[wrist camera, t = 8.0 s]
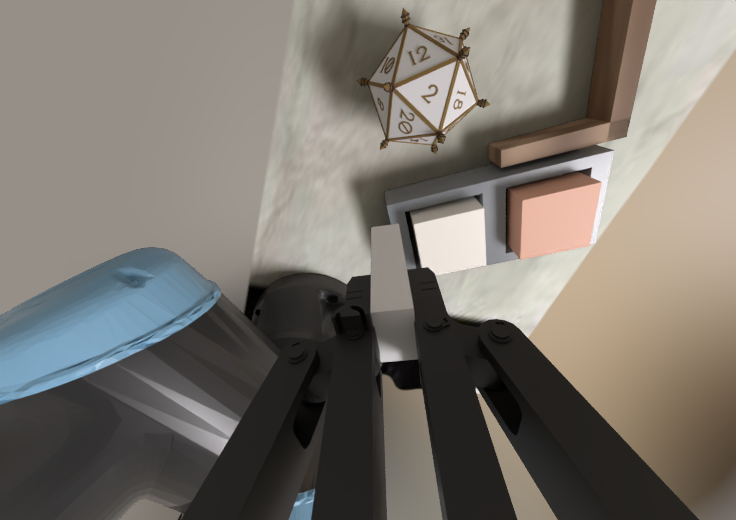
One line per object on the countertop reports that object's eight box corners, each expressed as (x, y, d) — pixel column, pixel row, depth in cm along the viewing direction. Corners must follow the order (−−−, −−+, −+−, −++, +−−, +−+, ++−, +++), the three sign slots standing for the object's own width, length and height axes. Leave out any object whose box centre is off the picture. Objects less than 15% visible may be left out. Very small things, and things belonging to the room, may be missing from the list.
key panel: (401, 261, 34) (404, 282, 30) (384, 191, 29) (386, 205, 26) (570, 225, 31) (595, 243, 28) (582, 141, 26) (614, 150, 23)
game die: (422, 105, 28) (456, 187, 24) (340, 93, 25) (364, 184, 21) (481, -5, 20) (543, 91, 17) (373, -43, 17) (420, 65, 14)
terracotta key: (507, 243, 29) (520, 259, 26) (507, 188, 26) (522, 200, 23) (569, 230, 28) (589, 245, 25) (578, 171, 25) (601, 182, 22)
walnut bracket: (489, 159, 27) (501, 167, 25) (483, -59, 19) (500, -80, 17) (601, 131, 26) (626, 136, 23) (644, -118, 18) (689, -150, 15)
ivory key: (419, 261, 30) (423, 277, 28) (409, 210, 27) (413, 224, 24) (476, 249, 29) (486, 265, 27) (473, 195, 26) (484, 208, 24)
